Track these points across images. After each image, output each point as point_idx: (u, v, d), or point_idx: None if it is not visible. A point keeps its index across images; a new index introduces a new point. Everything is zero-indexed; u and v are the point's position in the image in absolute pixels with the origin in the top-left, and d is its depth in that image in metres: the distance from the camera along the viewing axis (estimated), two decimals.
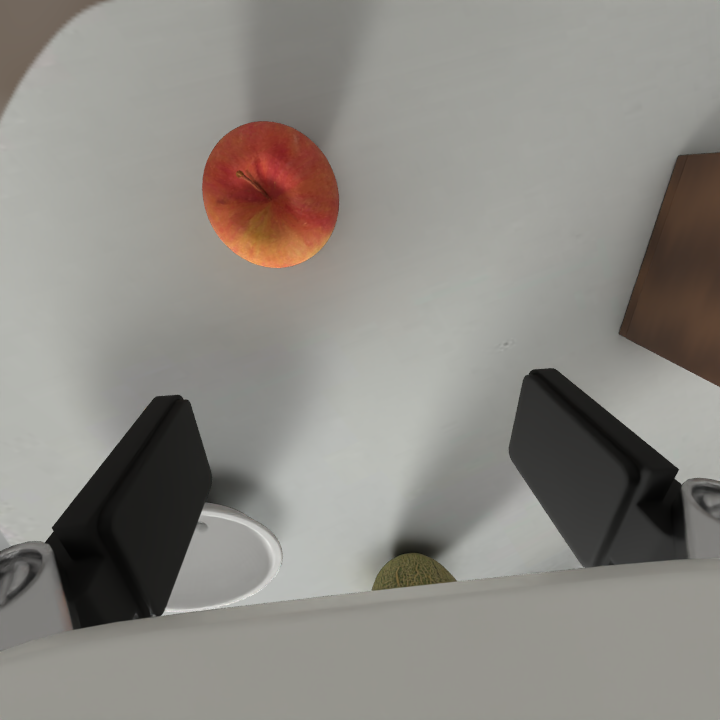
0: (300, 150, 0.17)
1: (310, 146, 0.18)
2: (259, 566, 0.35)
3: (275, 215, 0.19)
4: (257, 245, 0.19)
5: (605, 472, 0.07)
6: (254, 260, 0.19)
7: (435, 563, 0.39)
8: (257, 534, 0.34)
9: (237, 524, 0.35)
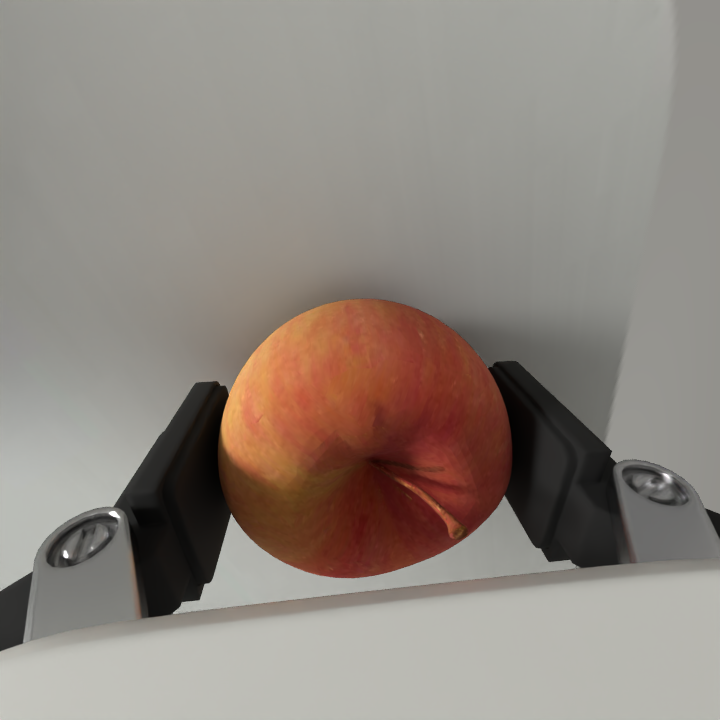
0: None
1: None
2: None
3: (342, 492, 0.08)
4: (270, 492, 0.07)
5: (549, 455, 0.07)
6: (229, 459, 0.07)
7: None
8: None
9: None
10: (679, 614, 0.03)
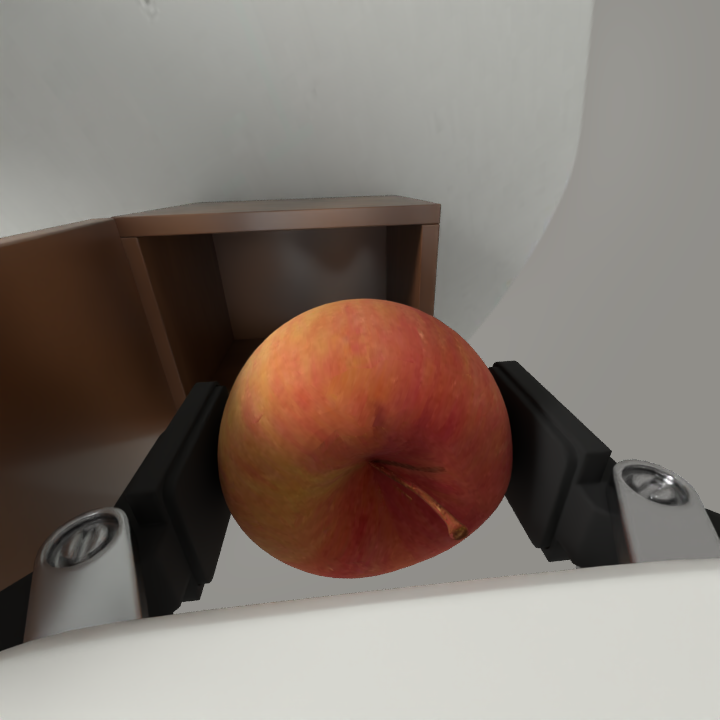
0: None
1: None
2: None
3: (342, 492, 0.08)
4: (270, 493, 0.07)
5: (549, 455, 0.07)
6: (229, 460, 0.07)
7: None
8: None
9: None
10: (680, 614, 0.03)
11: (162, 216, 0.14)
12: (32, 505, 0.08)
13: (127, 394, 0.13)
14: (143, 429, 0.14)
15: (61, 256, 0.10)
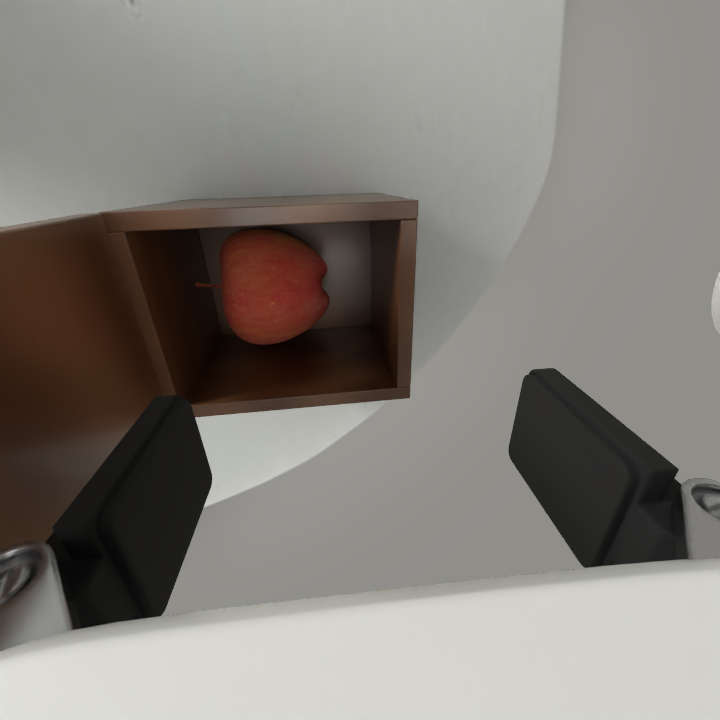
0: (234, 331, 0.22)
1: (244, 338, 0.22)
2: None
3: None
4: None
5: (605, 472, 0.07)
6: None
7: None
8: None
9: None
10: (680, 615, 0.03)
11: (149, 211, 0.15)
12: (9, 483, 0.08)
13: (112, 384, 0.13)
14: (129, 418, 0.14)
15: (44, 248, 0.10)
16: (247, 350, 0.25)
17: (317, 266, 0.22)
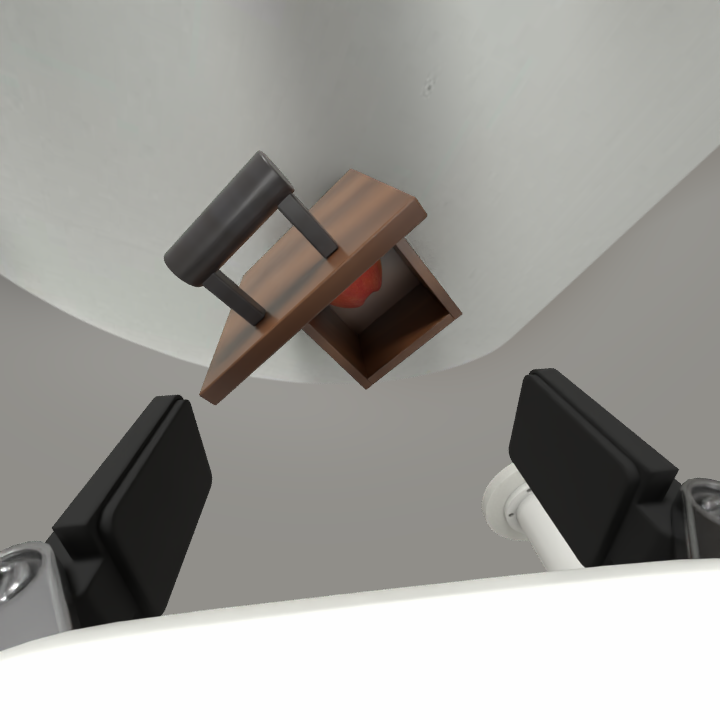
0: None
1: None
2: None
3: None
4: None
5: (605, 472, 0.07)
6: None
7: None
8: None
9: None
10: (680, 614, 0.03)
11: None
12: None
13: None
14: None
15: None
16: None
17: (377, 286, 0.32)
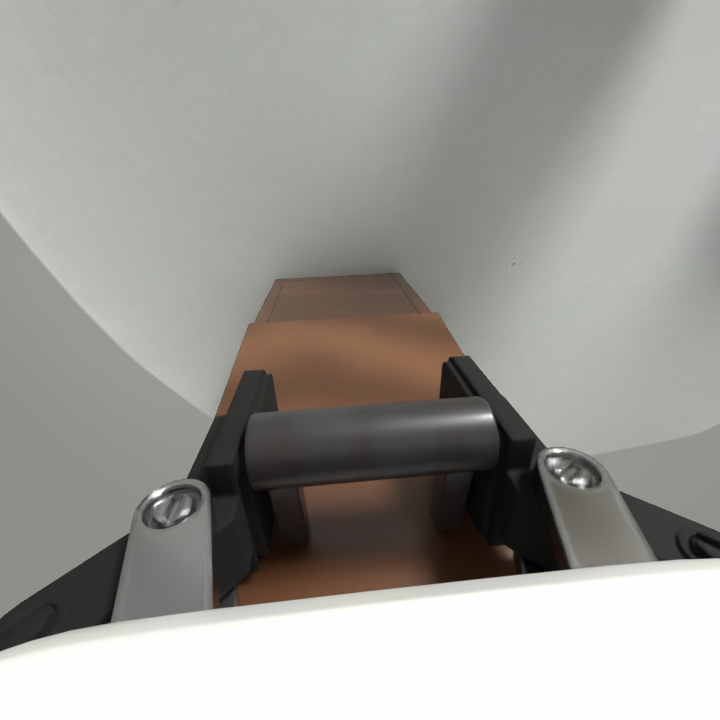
0: None
1: None
2: None
3: None
4: None
5: None
6: None
7: None
8: None
9: None
10: (679, 614, 0.03)
11: None
12: None
13: None
14: None
15: None
16: None
17: None
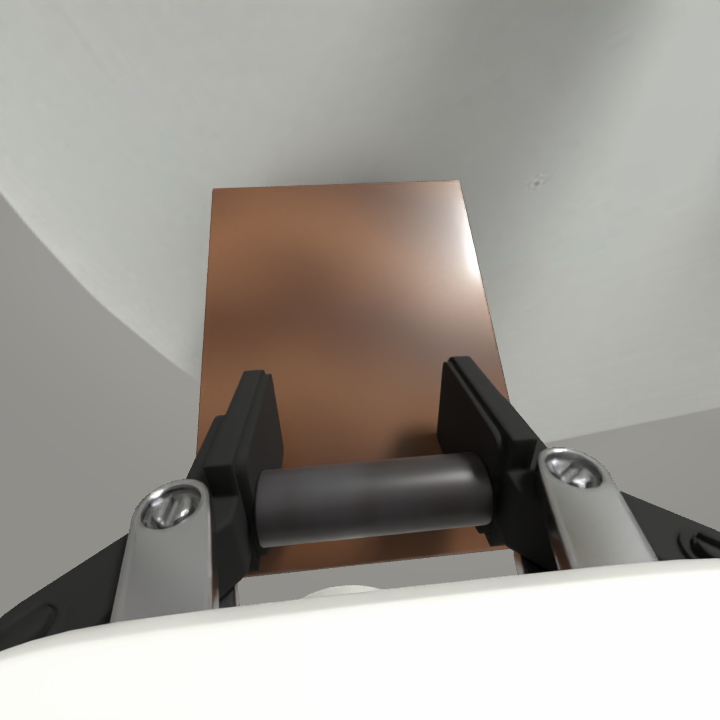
0: None
1: None
2: None
3: None
4: None
5: (485, 444, 0.08)
6: None
7: None
8: None
9: None
10: (679, 614, 0.03)
11: None
12: None
13: None
14: None
15: None
16: None
17: None
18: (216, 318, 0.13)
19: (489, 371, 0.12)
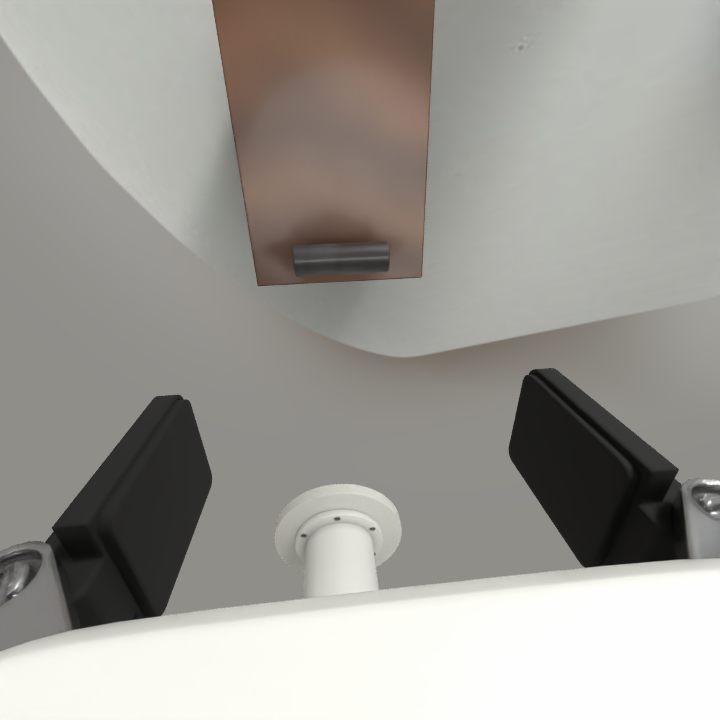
0: None
1: None
2: None
3: None
4: None
5: (605, 472, 0.07)
6: None
7: None
8: None
9: None
10: (679, 614, 0.03)
11: None
12: None
13: None
14: None
15: None
16: None
17: None
18: (241, 129, 0.19)
19: (417, 181, 0.20)
